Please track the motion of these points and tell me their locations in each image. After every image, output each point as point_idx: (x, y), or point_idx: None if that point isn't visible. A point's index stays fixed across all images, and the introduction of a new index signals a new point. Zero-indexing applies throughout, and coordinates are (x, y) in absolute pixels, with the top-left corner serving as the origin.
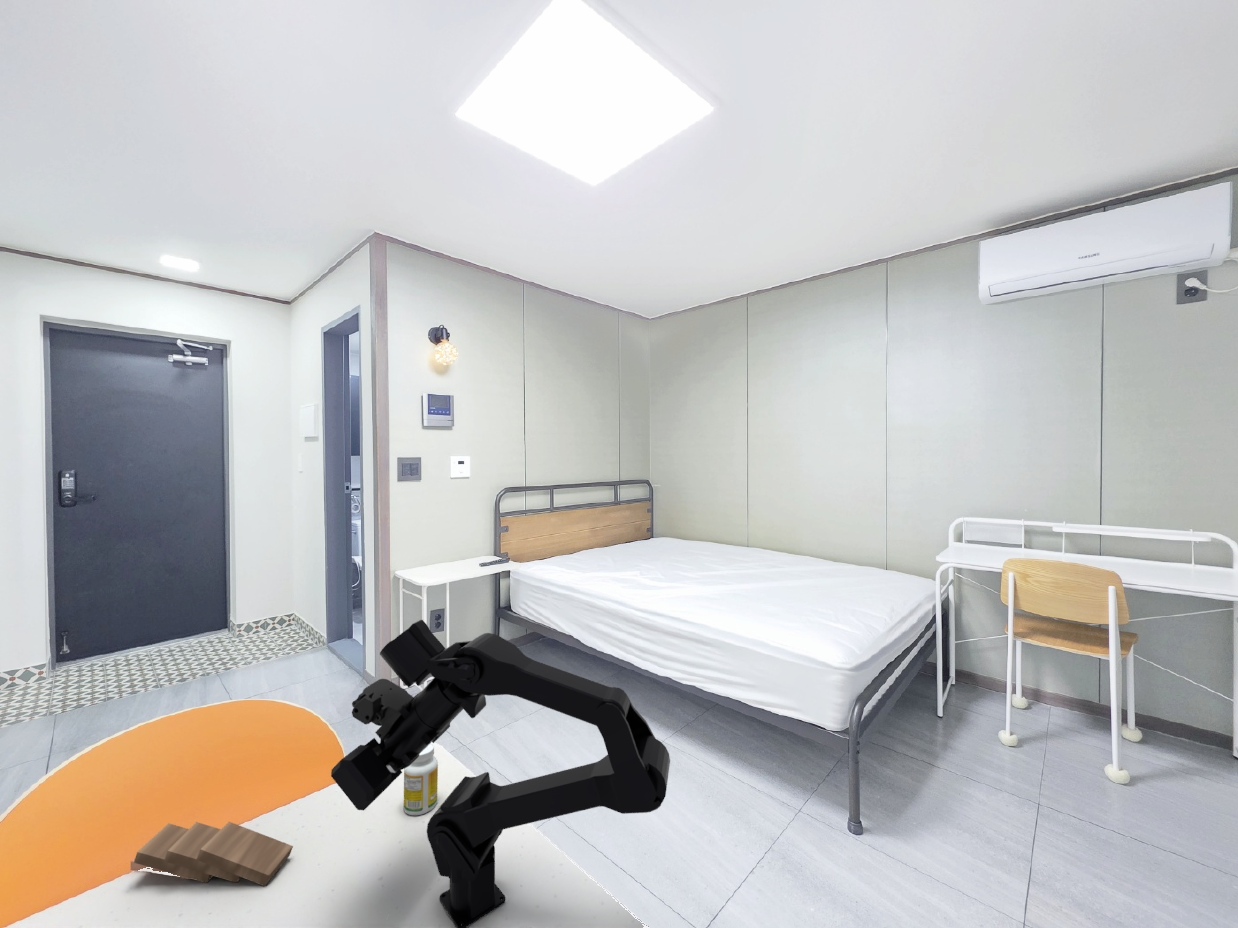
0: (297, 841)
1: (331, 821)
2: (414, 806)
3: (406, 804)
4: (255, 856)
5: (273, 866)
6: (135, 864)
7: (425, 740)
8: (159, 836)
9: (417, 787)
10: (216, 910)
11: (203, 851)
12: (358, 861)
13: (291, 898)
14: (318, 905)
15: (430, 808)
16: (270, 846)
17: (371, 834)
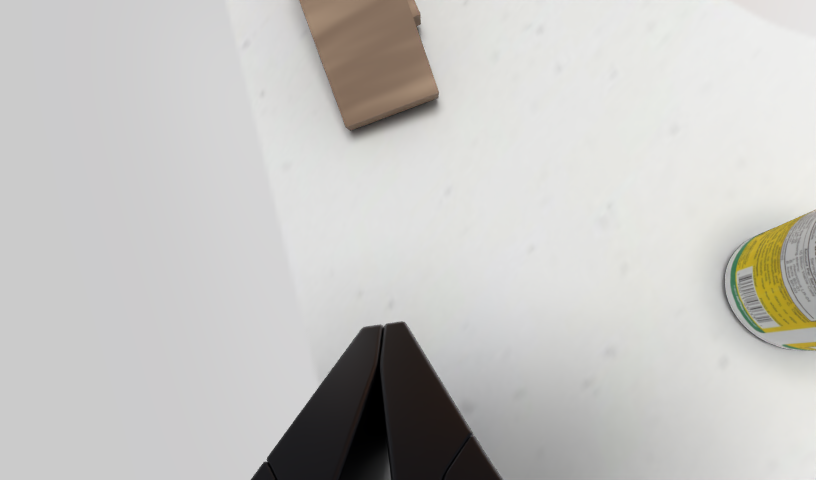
0: (490, 67)
1: (587, 81)
2: (749, 305)
3: (741, 269)
4: (354, 51)
5: (367, 112)
6: None
7: None
8: None
9: (807, 306)
10: (270, 98)
11: None
12: (494, 288)
13: (339, 225)
14: (340, 310)
15: (786, 348)
16: (397, 50)
17: (595, 236)
